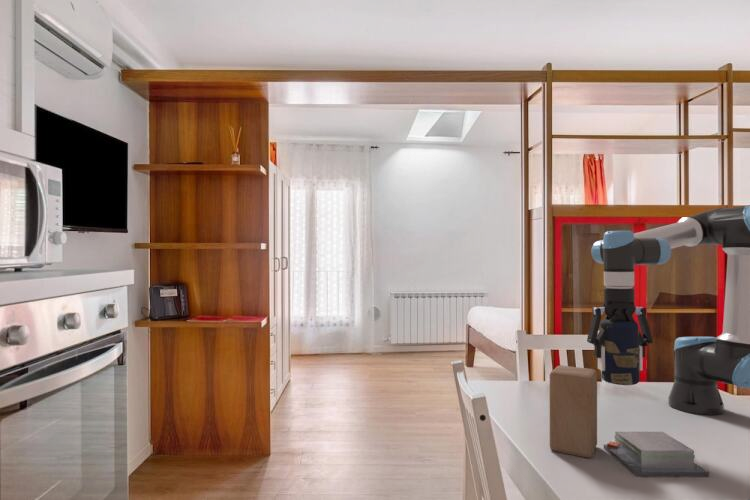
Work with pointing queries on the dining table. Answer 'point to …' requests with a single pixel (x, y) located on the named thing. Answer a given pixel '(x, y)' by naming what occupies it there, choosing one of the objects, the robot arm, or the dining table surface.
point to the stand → (654, 455)
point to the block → (573, 410)
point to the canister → (621, 352)
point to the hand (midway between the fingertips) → (619, 369)
